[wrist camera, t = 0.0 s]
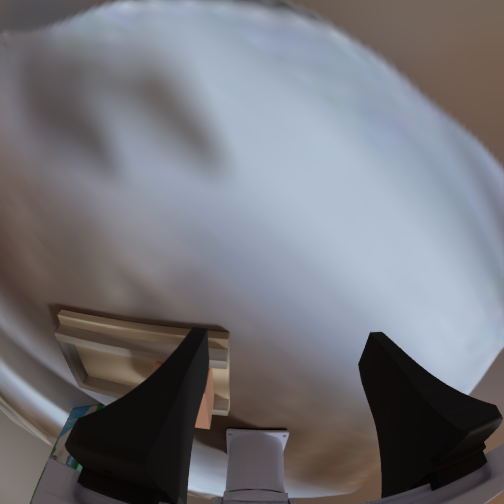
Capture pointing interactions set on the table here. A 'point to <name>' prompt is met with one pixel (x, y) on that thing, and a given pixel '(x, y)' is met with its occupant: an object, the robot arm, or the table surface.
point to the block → (207, 400)
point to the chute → (131, 354)
